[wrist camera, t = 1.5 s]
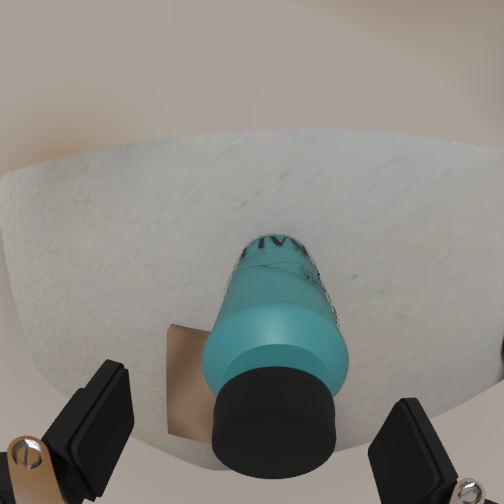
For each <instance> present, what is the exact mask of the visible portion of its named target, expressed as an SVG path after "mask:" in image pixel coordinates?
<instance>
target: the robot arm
mask: <svg viewBox="0 0 504 504" xmlns="http://www.w3.org/2000/svg"><path fill="white" fill-rule="evenodd" d="M133 427H134V414H133V407H132V399H131V391H130V382H129V372H128V369H125V368H124V365H123V364H122V363H119V362H115V361H112V360H109V359H107V360H106V361H105V362H104V363H103V364H102V365H101V367H100V368H99V369H98V371H97V372H96V373H95V375H94V376H93V377H92V379H91V380H90V381H89V383H88V384H87V385H86V387H85V388H80V389H78V390H77V391H76V392H75V394H74V395H73V396H72V398H71V399H70V400H69V402H68V403H67V404H66V406H65V407H64V408H63V410H62V411H61V413H60V414H59V415H58V417H57V418H56V419H55V421H54V422H53V423H52V425H51V426H50V428H49V429H48V430H47V432H46V433H45V435H44V436H43V437H42V439H41V440H39V439H38V438H35V437H32V436H21V437H18V438H16V439H14V440H13V441H12V442H11V443H10V444H9V447H8V449H7V452H0V504H82V502H83V500H84V498H85V499H88V500H90V501H92V502H94V501H95V499H96V497H101V496H102V494H103V493H104V490H105V488H106V486H107V484H108V481H109V479H110V477H111V475H112V473H113V470H114V468H115V466H116V464H117V461H118V459H119V457H120V455H121V453H122V451H123V449H124V446H125V444H126V442H127V440H128V438H129V436H130V434H131V432H132V429H133ZM368 457H369V461H370V464H371V468H372V471H373V475H374V478H375V482H376V485H377V489H378V493H379V496H380V500H381V504H498V503H495V502H492V501H490V500H487V499H485V491H484V488H483V486H482V484H480V483H479V482H478V481H476V480H474V479H470V478H466V479H463V480H461V481H459V482H457V480H456V479H457V478H458V475H457V473H456V471H455V469H454V467H453V465H452V463H451V461H450V459H449V457H448V455H447V453H446V451H445V449H444V447H443V445H442V443H441V441H440V439H439V437H438V436H437V433H436V432H435V430H434V428H433V426H432V424H431V422H430V421H429V419H428V417H427V415H426V413H425V411H424V410H423V408H422V406H421V404H420V403H419V401H418V399H417V398H401V399H400V400H399V402H397V403H395V405H394V406H393V408H392V410H391V412H390V414H389V415H388V417H387V419H386V420H385V422H384V424H383V426H382V427H381V429H380V431H379V432H378V434H377V435H376V437H375V439H374V440H373V442H372V443H371V445H370V446H369V449H368Z"/></svg>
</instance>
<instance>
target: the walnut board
mask: <svg viewBox="0 0 504 504" xmlns="http://www.w3.org/2000/svg"><path fill="white" fill-rule="evenodd" d="M210 333H211V332H208V331H203V330H198V329H193V328H188V327H183V326H178V325H174V324H171V326H170V327H169V329H168V330H167V361H166V372H167V419H168V434H172V435H176V436H180V437H184V438H188V439H193V440H198V441H202V442H207V443H212V442H211V437H212V430H213V422H214V420H213V411H214V405H215V401H216V398H217V397H216V396H215V395H214V394H213V393H212V391H211V390H210V388H209V387H208V385H207V383H206V380H205V378H204V374H203V370H202V353H203V349H204V346H205V343H206V341H207V338H208V336H209V335H210Z"/></svg>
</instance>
